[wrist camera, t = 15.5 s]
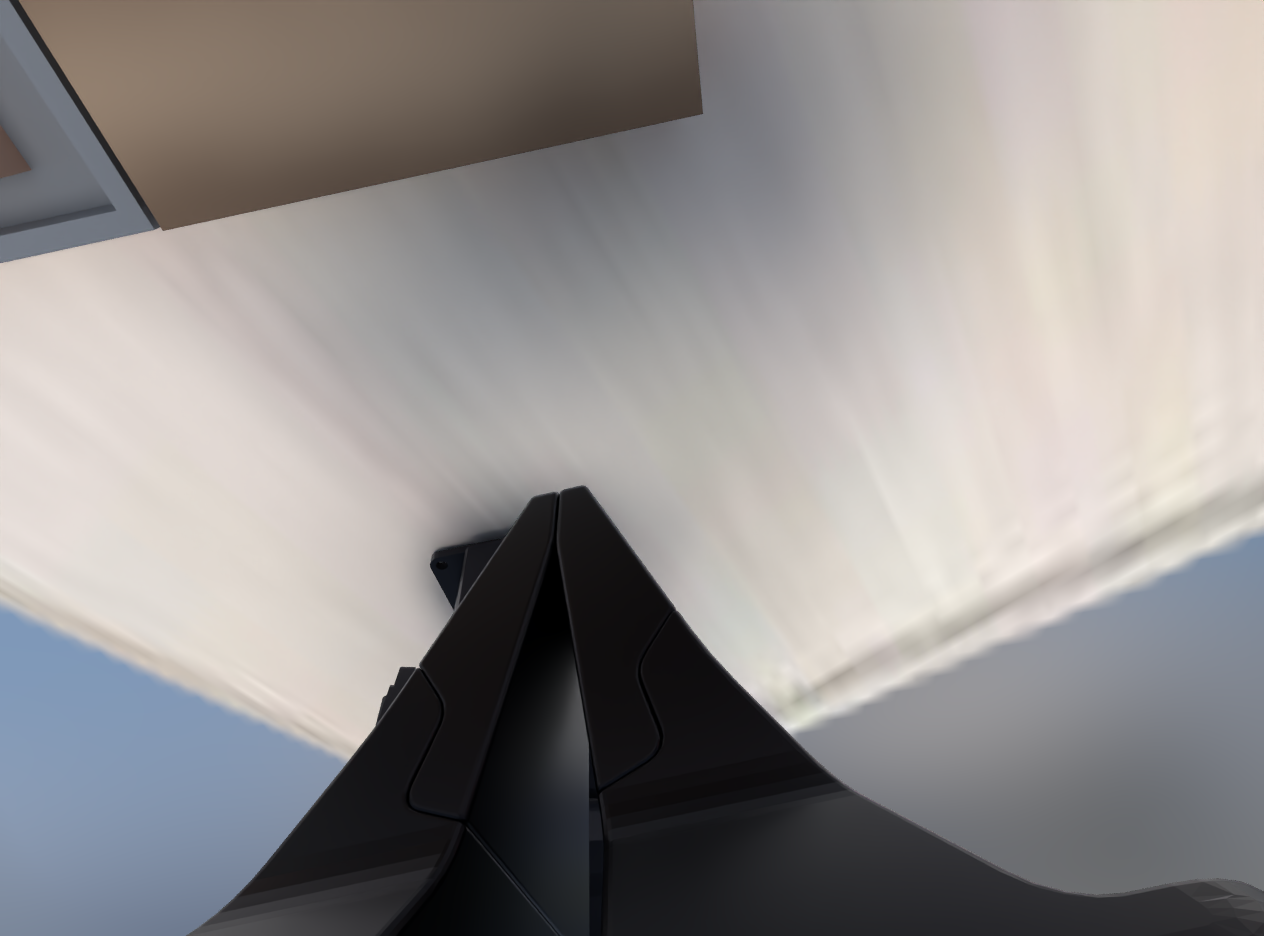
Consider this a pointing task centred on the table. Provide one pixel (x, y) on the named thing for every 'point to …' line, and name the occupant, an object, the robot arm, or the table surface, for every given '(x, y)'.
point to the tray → (55, 155)
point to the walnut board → (356, 87)
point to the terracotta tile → (10, 157)
